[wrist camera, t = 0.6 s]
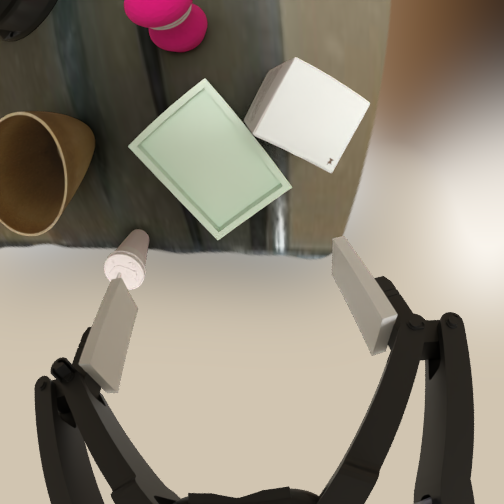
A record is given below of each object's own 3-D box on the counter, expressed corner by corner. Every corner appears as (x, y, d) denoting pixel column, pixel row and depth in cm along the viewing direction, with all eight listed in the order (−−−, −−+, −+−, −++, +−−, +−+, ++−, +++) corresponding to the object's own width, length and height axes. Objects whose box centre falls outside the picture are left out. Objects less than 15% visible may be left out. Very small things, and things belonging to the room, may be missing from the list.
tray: (132, 143, 35) (127, 146, 33) (206, 79, 32) (204, 78, 30) (218, 233, 45) (217, 240, 43) (288, 182, 41) (292, 187, 39)
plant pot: (38, 178, 35) (-18, 221, 22) (51, 94, 28) (-16, 108, 15) (108, 197, 39) (63, 251, 26) (129, 107, 32) (76, 120, 19)
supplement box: (324, 97, 34) (374, 103, 22) (296, 147, 38) (333, 177, 26) (268, 67, 31) (295, 53, 19) (241, 121, 36) (251, 136, 23)
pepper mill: (199, 59, 30) (176, 26, 13) (150, 51, 28) (88, 22, 11) (216, 16, 26) (211, -46, 10) (167, 9, 25) (123, -49, 8)
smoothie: (118, 222, 42) (87, 273, 30) (154, 220, 42) (131, 273, 31) (126, 255, 45) (101, 310, 34) (159, 254, 46) (142, 311, 34)
